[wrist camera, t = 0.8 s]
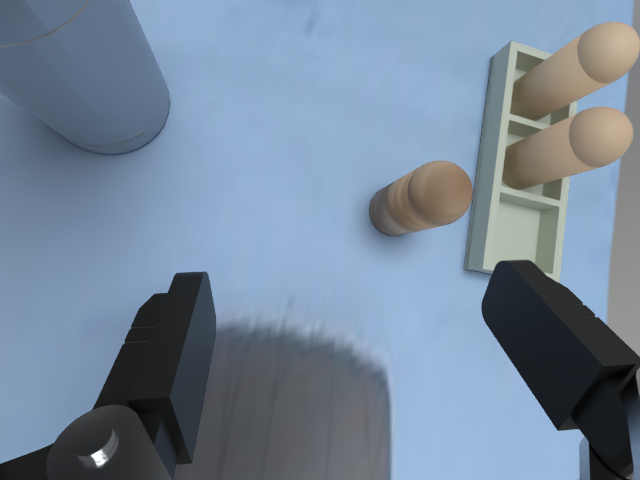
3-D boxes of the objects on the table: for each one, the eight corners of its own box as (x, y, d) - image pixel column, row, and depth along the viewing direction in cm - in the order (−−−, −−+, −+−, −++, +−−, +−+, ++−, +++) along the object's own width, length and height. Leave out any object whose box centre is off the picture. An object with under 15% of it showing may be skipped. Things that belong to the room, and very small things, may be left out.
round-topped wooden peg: (362, 195, 33) (413, 162, 23) (406, 181, 34) (473, 143, 23) (378, 242, 33) (437, 231, 22) (422, 226, 34) (496, 209, 23)
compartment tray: (535, 282, 35) (658, 289, 25) (463, 268, 34) (562, 268, 23) (557, 79, 38) (677, 5, 27) (491, 57, 36) (591, -30, 26)
